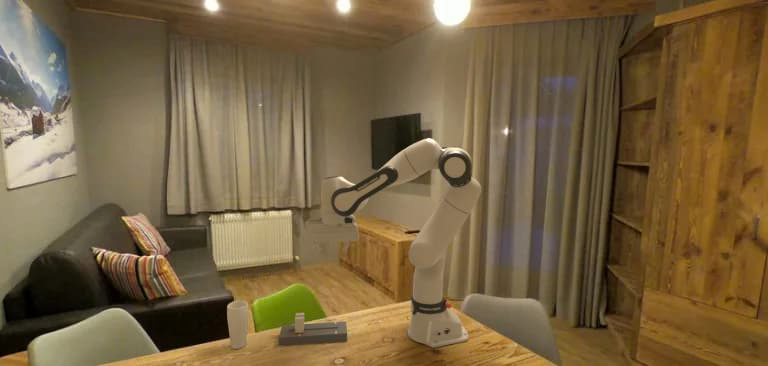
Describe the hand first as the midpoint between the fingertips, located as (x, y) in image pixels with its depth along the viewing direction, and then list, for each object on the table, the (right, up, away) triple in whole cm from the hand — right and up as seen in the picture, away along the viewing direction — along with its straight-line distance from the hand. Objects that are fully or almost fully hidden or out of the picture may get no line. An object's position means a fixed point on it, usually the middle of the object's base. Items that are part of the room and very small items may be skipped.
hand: (332, 253), depth 140 cm
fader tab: (-11, -26, -8) cm, 30 cm away
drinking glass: (-31, -30, -13) cm, 45 cm away
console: (-6, -30, -7) cm, 31 cm away
